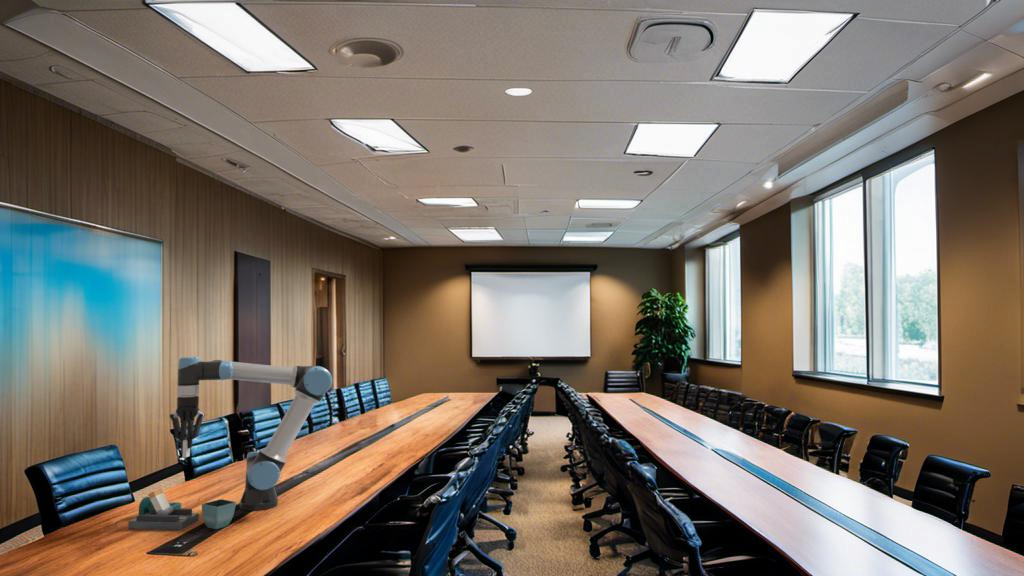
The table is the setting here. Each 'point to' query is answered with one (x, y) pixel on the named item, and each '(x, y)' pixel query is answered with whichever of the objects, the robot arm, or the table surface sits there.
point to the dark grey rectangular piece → (164, 517)
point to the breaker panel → (164, 523)
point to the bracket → (147, 506)
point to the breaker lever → (160, 502)
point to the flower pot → (218, 513)
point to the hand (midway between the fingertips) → (186, 456)
